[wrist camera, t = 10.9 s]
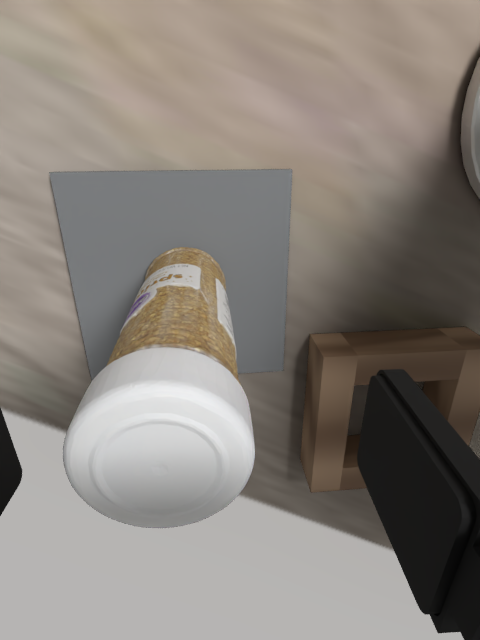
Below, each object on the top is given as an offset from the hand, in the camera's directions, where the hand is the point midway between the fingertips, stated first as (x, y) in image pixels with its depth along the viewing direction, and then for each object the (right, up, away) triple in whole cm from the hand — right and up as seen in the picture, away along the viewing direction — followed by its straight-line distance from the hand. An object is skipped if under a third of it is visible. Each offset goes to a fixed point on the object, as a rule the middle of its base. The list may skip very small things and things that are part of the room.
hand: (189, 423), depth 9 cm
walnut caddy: (+11, -3, +17) cm, 20 cm away
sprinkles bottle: (-2, +5, +12) cm, 13 cm away
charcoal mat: (-2, +5, +12) cm, 13 cm away
